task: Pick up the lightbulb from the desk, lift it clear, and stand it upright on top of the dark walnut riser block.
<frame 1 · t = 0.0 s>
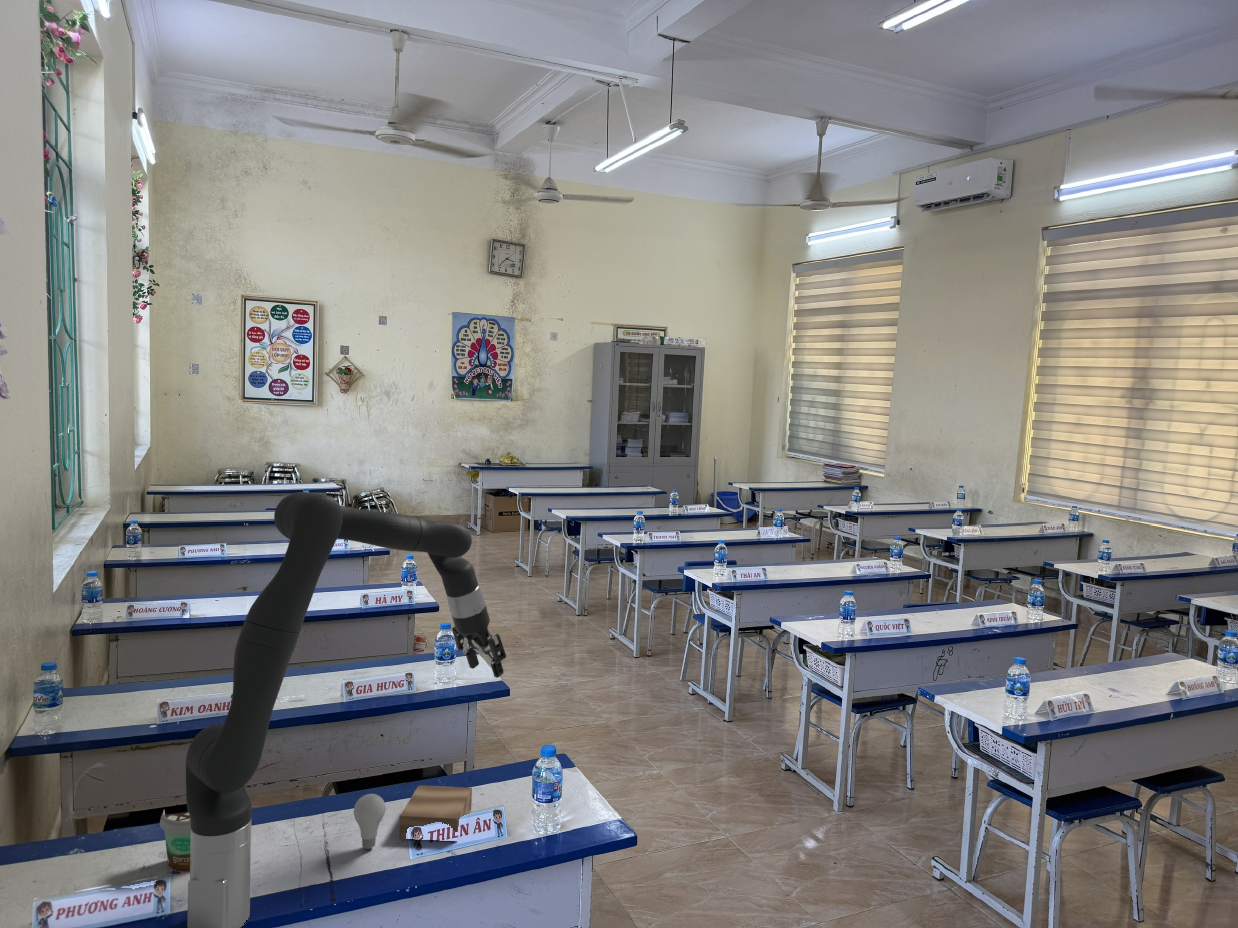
hand: (486, 670, 176), 31 cm above the table, tool tilted 20°, fingers open, 8 cm apart
walnut riser: (436, 823, 170), on the table
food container: (191, 866, 151), on the table
lightbulb: (368, 849, 159), on the table
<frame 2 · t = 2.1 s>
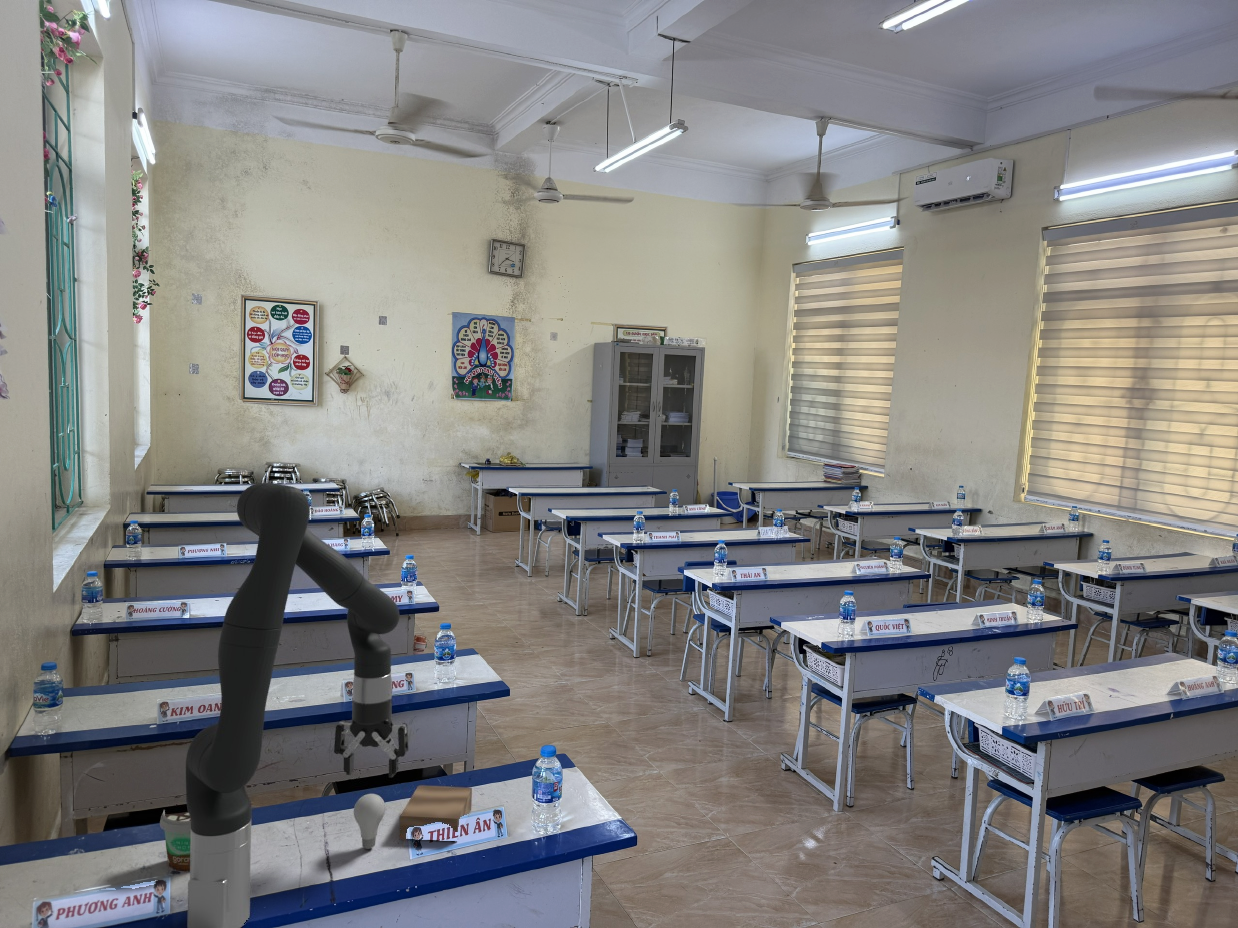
hand: (371, 774, 158), 15 cm above the table, tool pointing down, fingers open, 8 cm apart
nothing on the table moved.
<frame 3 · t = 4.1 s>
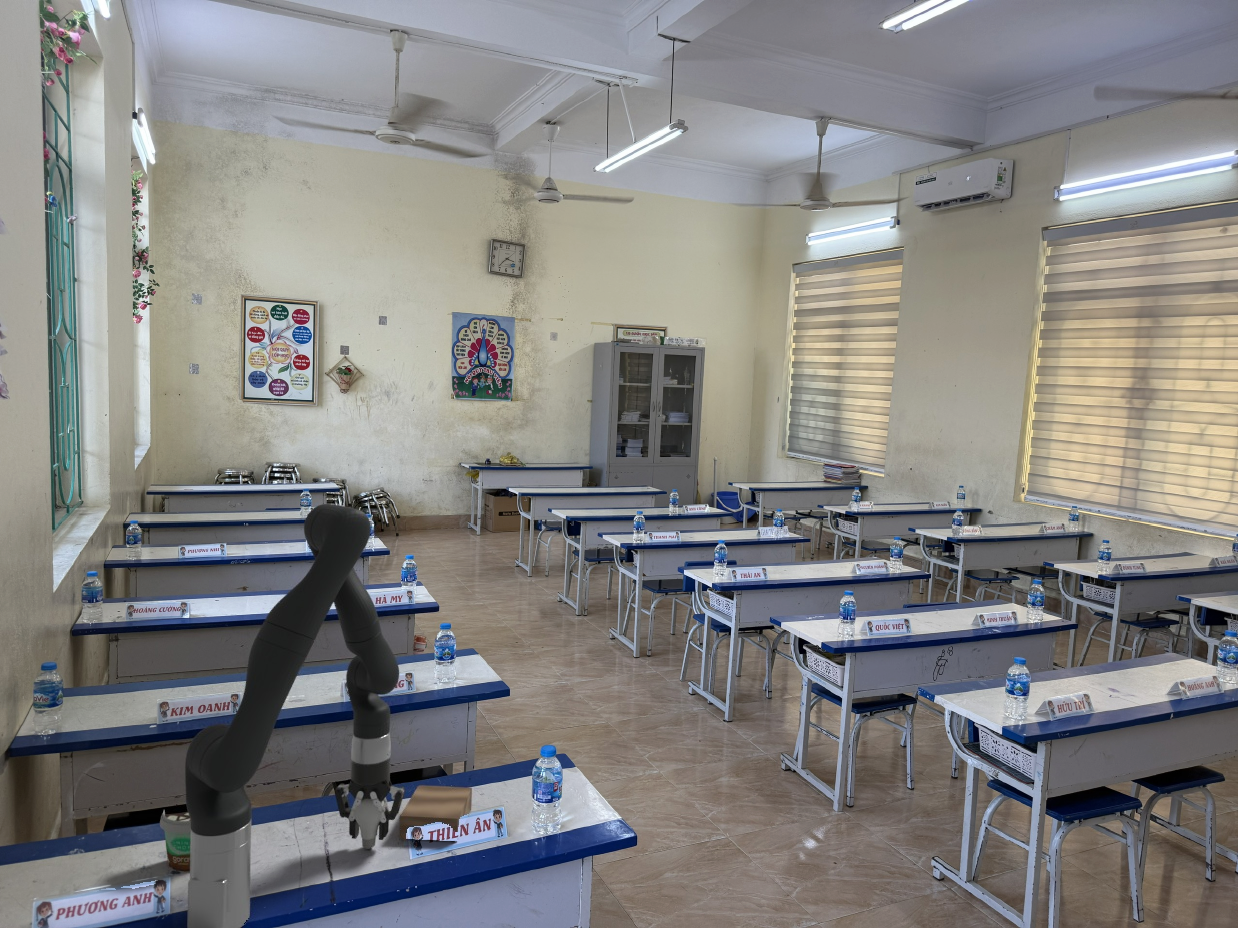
hand: (368, 836, 159), 2 cm above the table, tool pointing down, fingers closed on lightbulb, 5 cm apart
lightbulb: (368, 849, 159), on the table, touching gripper
everything else where it was.
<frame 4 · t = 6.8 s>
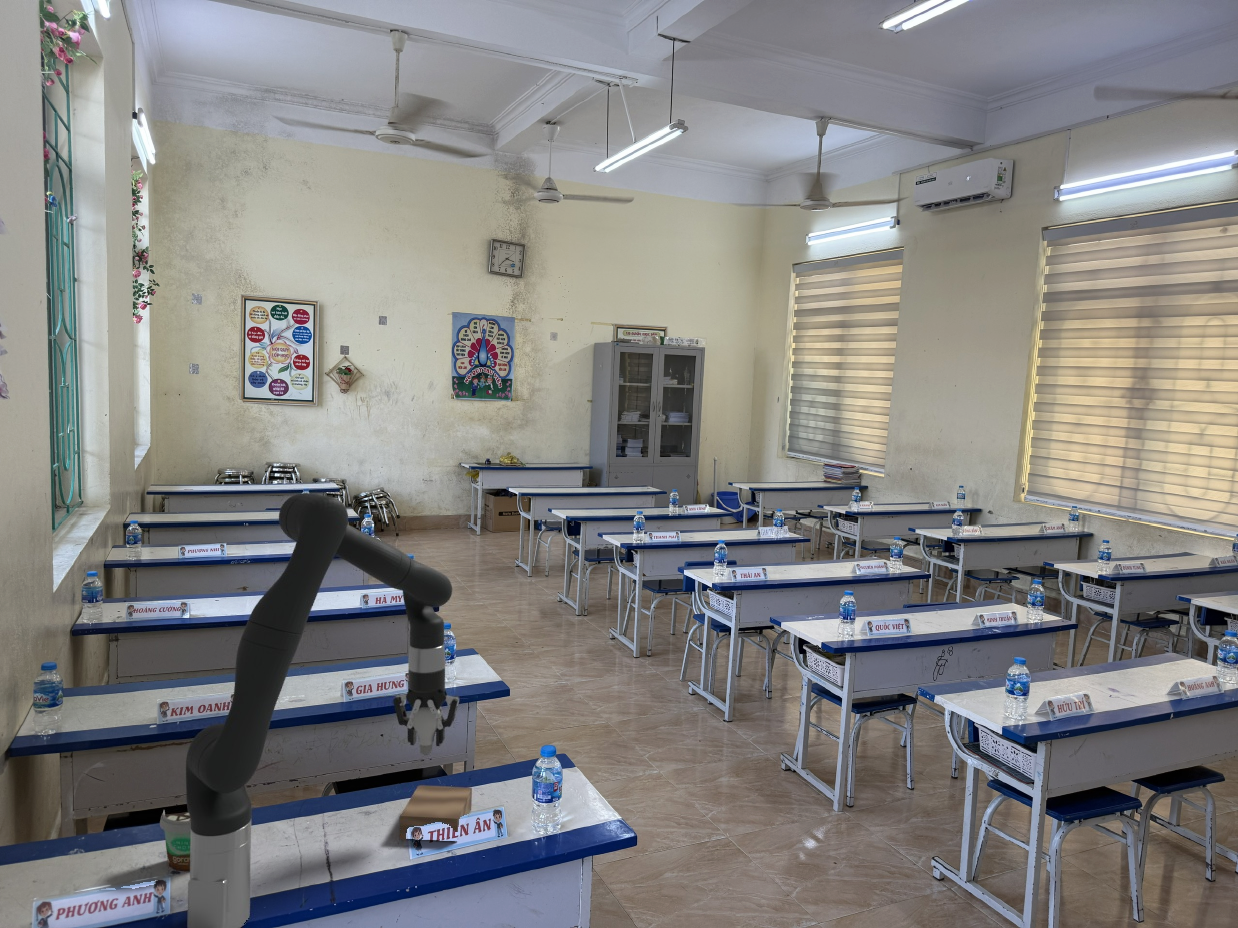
hand: (426, 743, 167), 18 cm above the table, tool pointing down, fingers closed on lightbulb, 5 cm apart
lightbulb: (426, 755, 167), point 16 cm above the table, touching gripper
everything else where it was.
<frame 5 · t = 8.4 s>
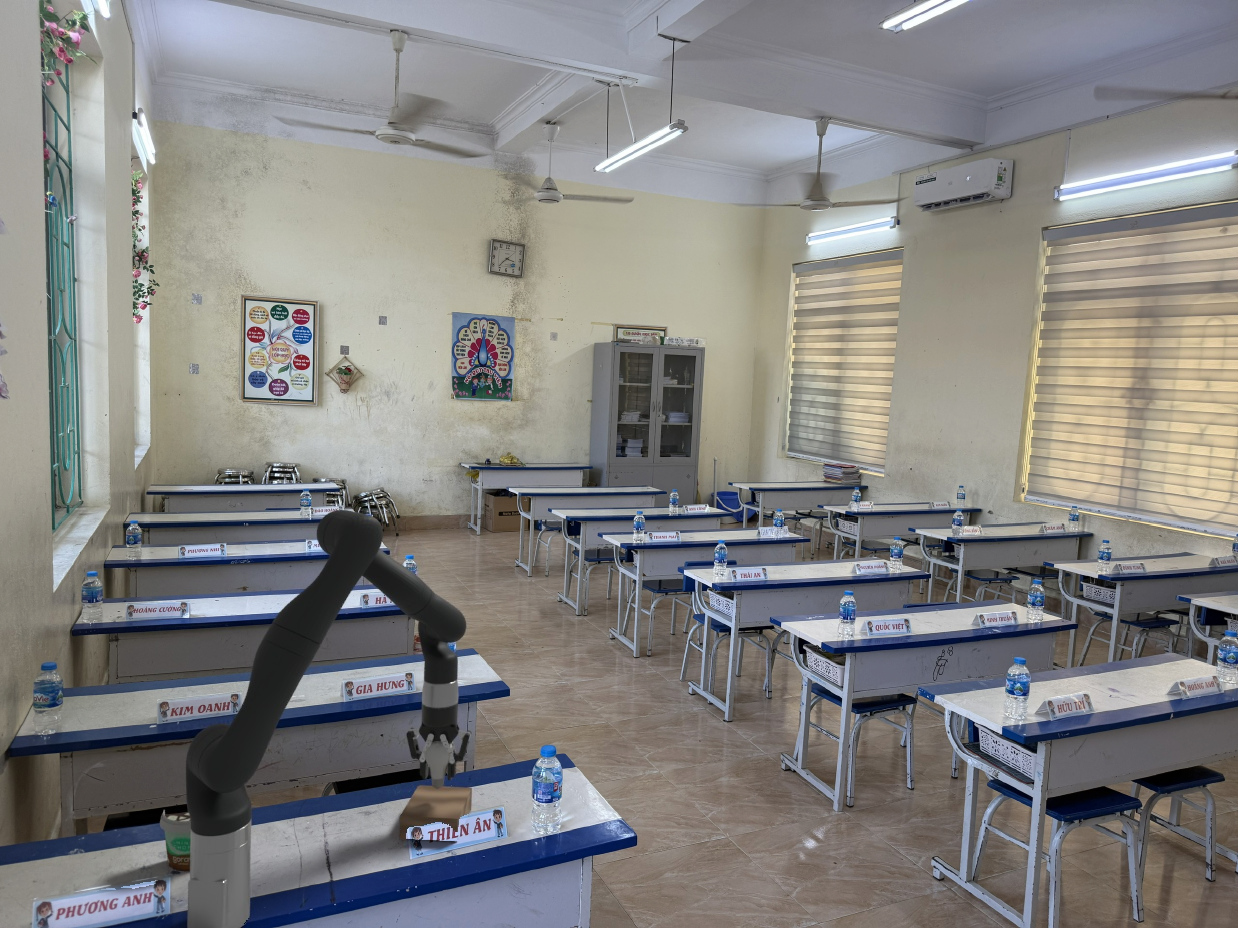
hand: (437, 777, 169), 10 cm above the table, tool pointing down, fingers closed on lightbulb, 5 cm apart
lightbulb: (437, 789, 169), point 8 cm above the table, touching gripper
everything else where it was.
when the fingers open (9 cm above the table, at t = 9.5 s): lightbulb drops 1 cm, resting on walnut riser.
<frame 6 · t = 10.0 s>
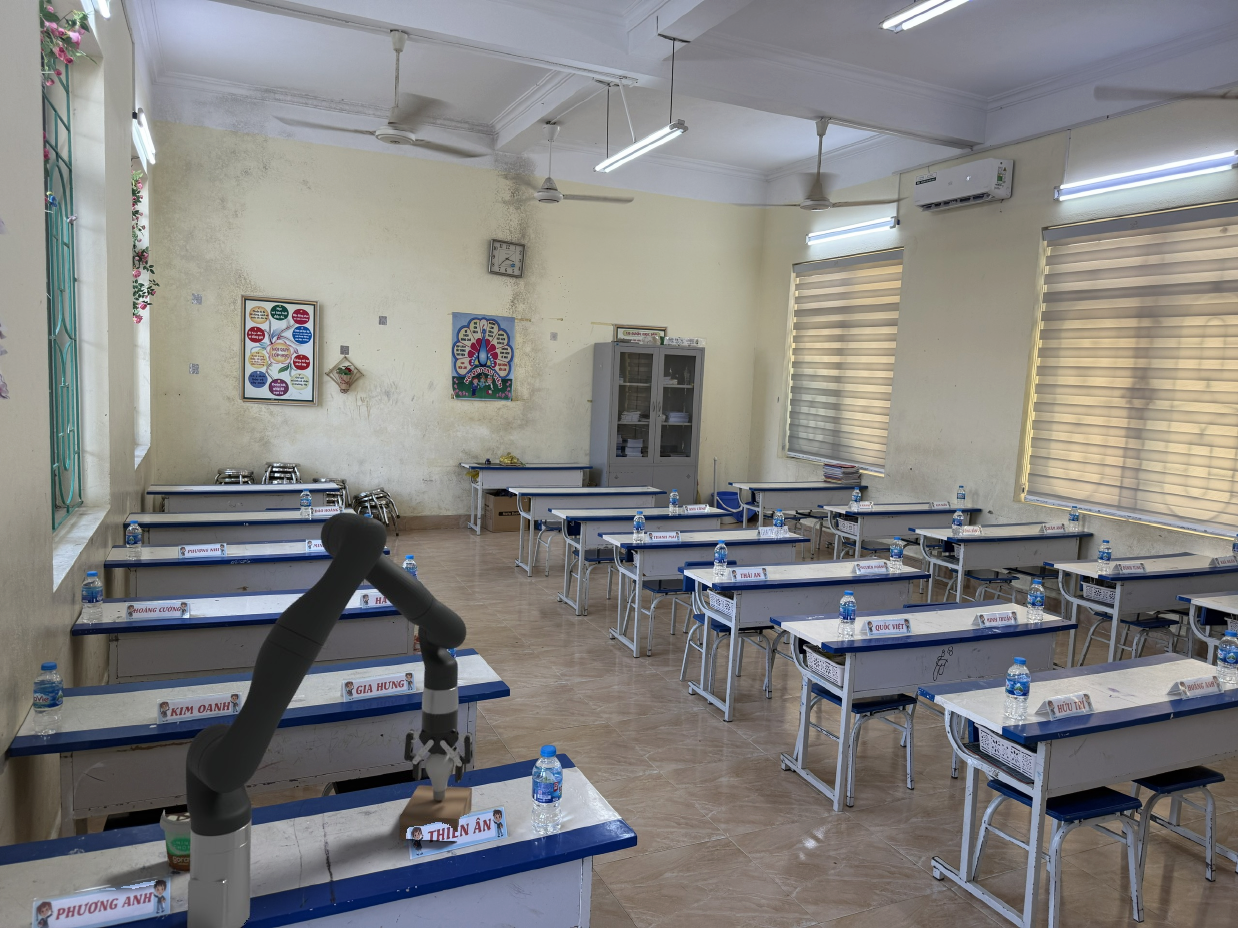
hand: (438, 780, 169), 10 cm above the table, tool pointing down, fingers open, 8 cm apart
lightbulb: (439, 801, 170), point 5 cm above the table, touching walnut riser
everything else where it was.
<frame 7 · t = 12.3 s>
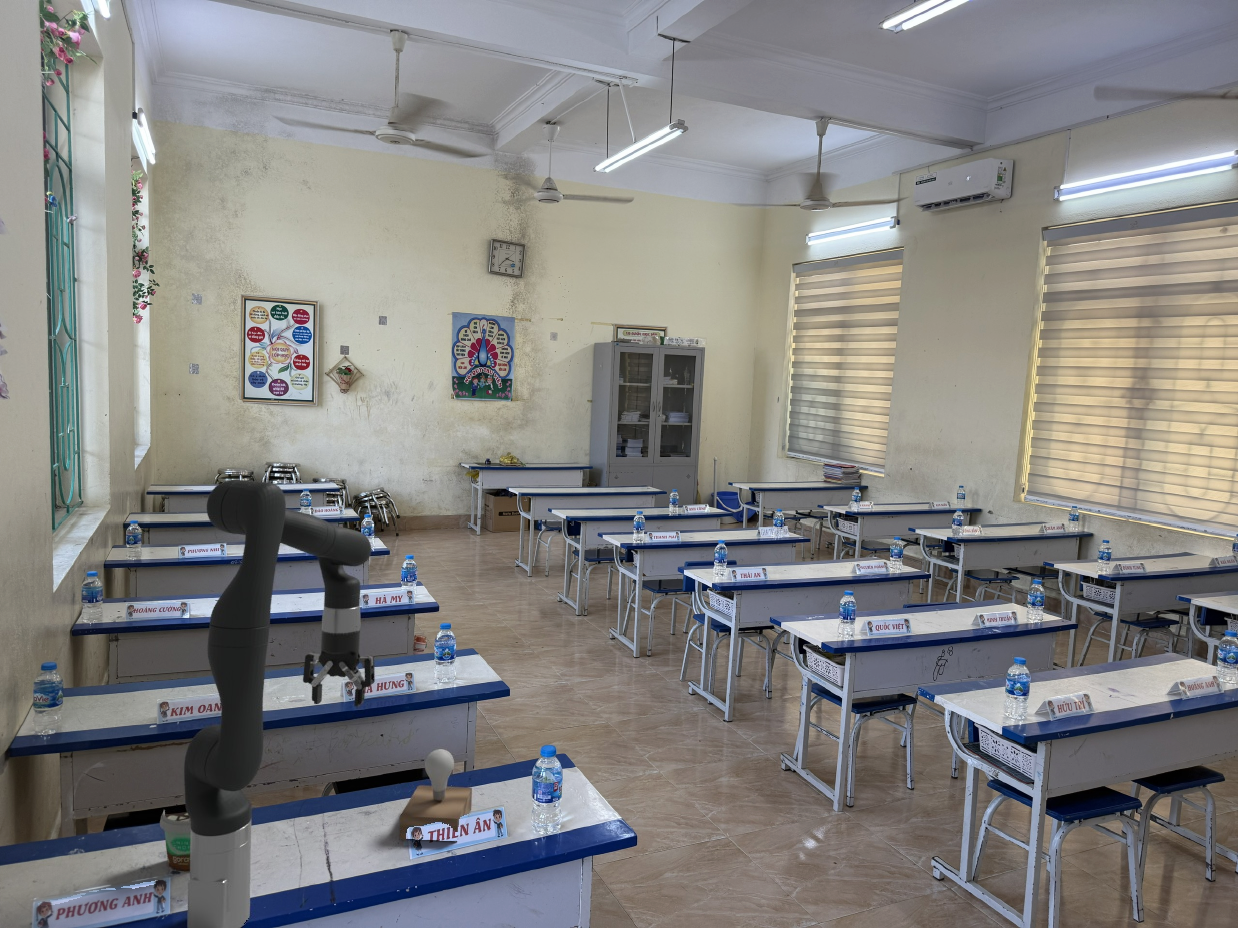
hand: (338, 704, 164), 27 cm above the table, tool pointing down, fingers open, 8 cm apart
nothing on the table moved.
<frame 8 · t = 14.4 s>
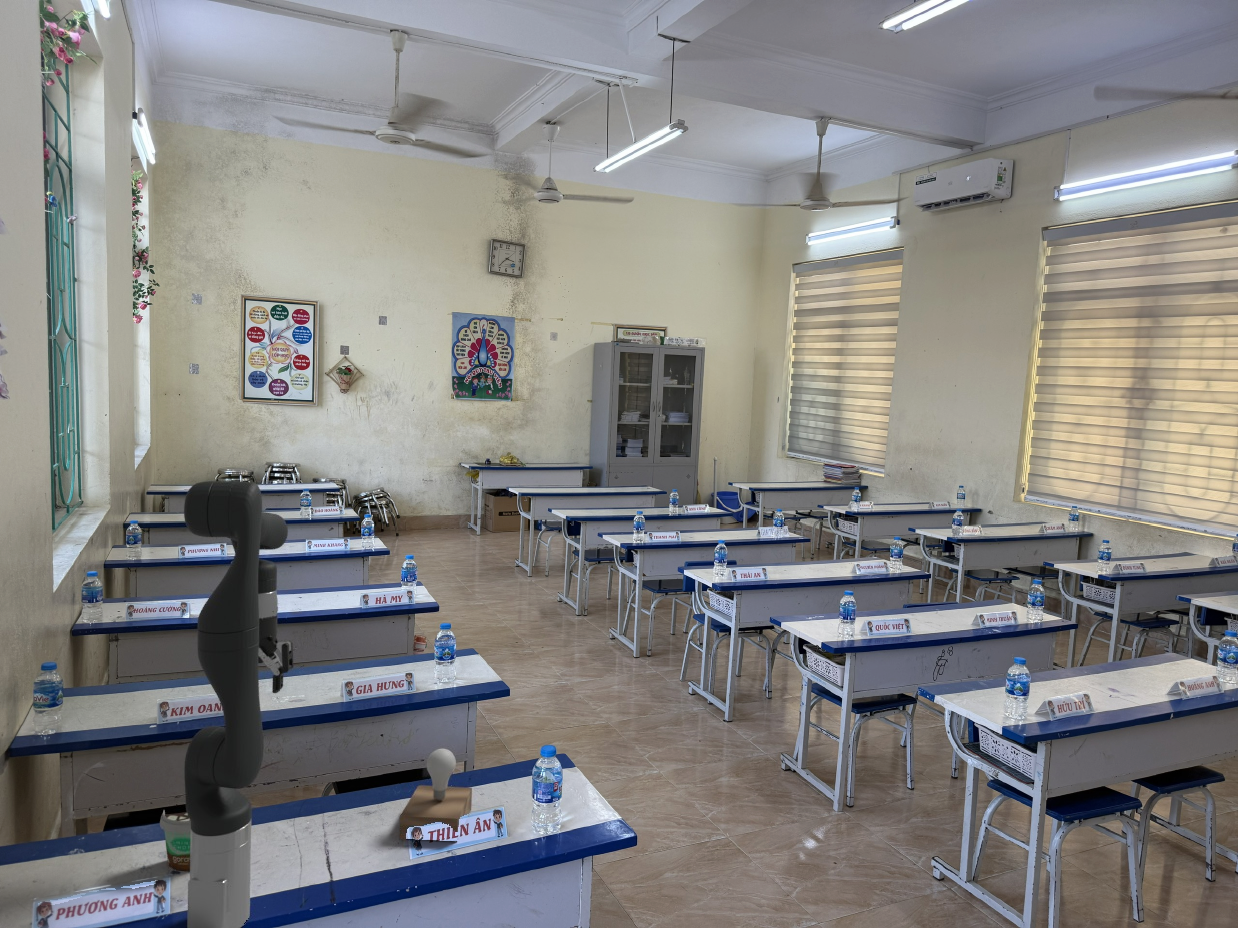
hand: (255, 690, 161), 30 cm above the table, tool pointing down, fingers open, 8 cm apart
nothing on the table moved.
at the end: lightbulb inside the target area on the walnut riser (0.5 cm from its centre), point 4.8 cm above the walnut riser's base; lightbulb tilted 1°; the gripper is holding nothing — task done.
